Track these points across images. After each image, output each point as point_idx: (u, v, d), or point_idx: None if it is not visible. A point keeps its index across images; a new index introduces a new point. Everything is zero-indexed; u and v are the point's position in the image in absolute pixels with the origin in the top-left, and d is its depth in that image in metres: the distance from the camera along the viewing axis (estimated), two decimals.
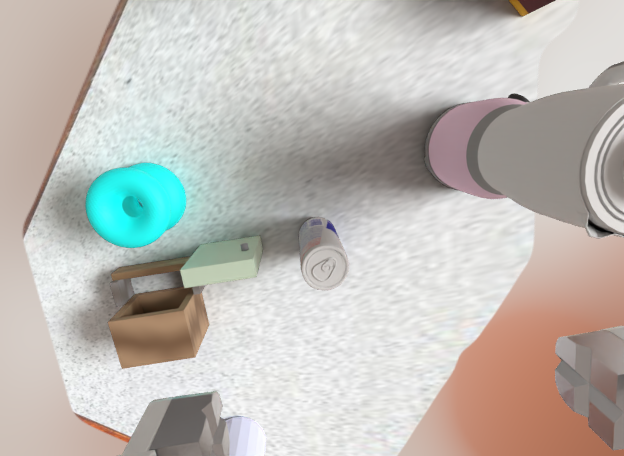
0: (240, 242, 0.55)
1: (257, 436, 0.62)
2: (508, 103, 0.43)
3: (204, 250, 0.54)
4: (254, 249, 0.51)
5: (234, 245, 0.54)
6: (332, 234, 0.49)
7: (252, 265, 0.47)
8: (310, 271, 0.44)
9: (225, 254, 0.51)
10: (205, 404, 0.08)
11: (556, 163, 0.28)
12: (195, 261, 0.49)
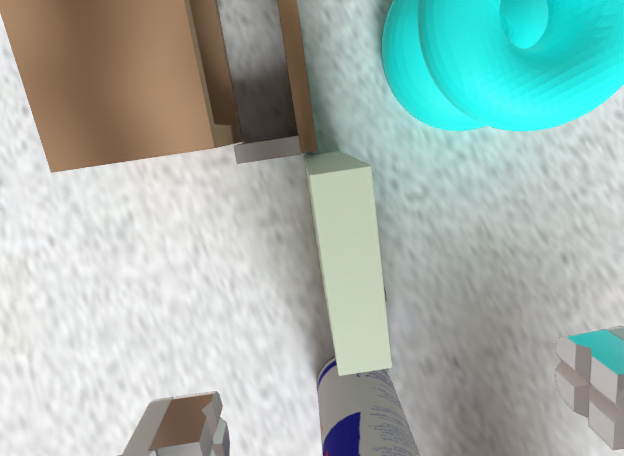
0: None
1: None
2: None
3: None
4: None
5: None
6: None
7: (373, 366, 0.17)
8: None
9: None
10: (205, 404, 0.08)
11: None
12: None
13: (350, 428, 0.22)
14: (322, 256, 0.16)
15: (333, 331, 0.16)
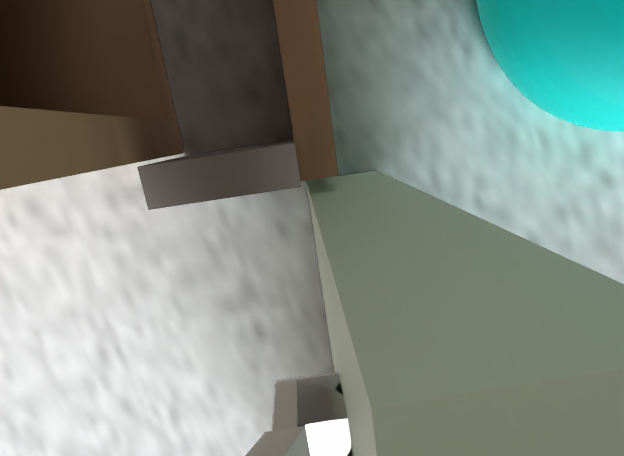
0: None
1: None
2: None
3: None
4: None
5: None
6: None
7: None
8: None
9: None
10: (335, 384, 0.08)
11: None
12: None
13: None
14: None
15: None
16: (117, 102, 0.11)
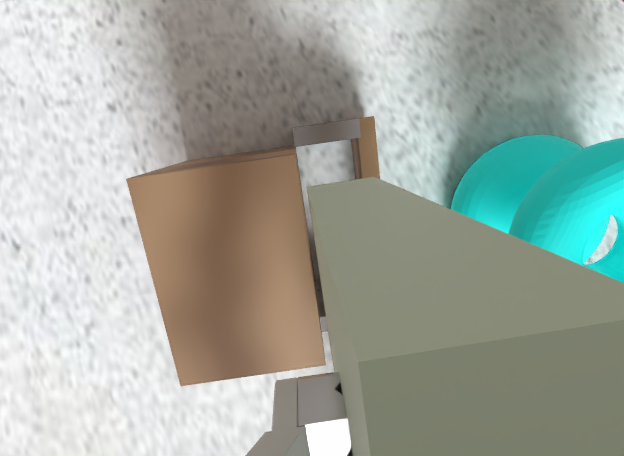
0: None
1: None
2: None
3: None
4: None
5: None
6: None
7: None
8: None
9: None
10: (335, 384, 0.08)
11: None
12: None
13: None
14: None
15: None
16: None
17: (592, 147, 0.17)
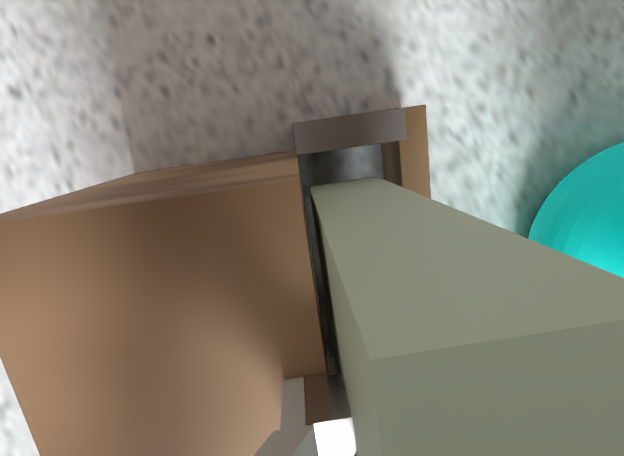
0: None
1: None
2: None
3: None
4: None
5: None
6: None
7: None
8: None
9: None
10: (343, 383, 0.08)
11: None
12: None
13: None
14: None
15: None
16: None
17: None
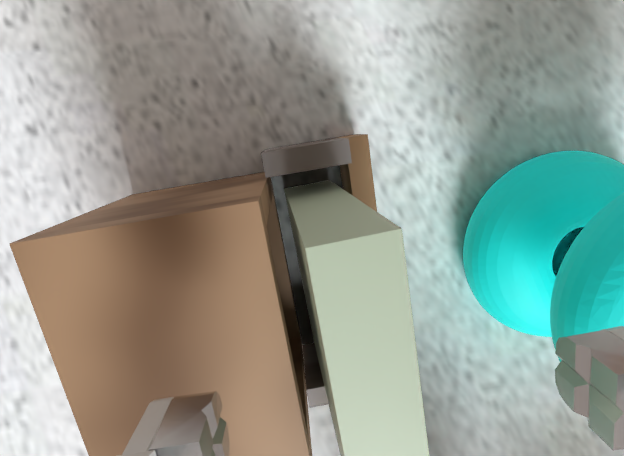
0: None
1: None
2: None
3: None
4: None
5: None
6: None
7: None
8: None
9: None
10: (205, 404, 0.08)
11: None
12: None
13: None
14: (329, 368, 0.10)
15: None
16: None
17: None
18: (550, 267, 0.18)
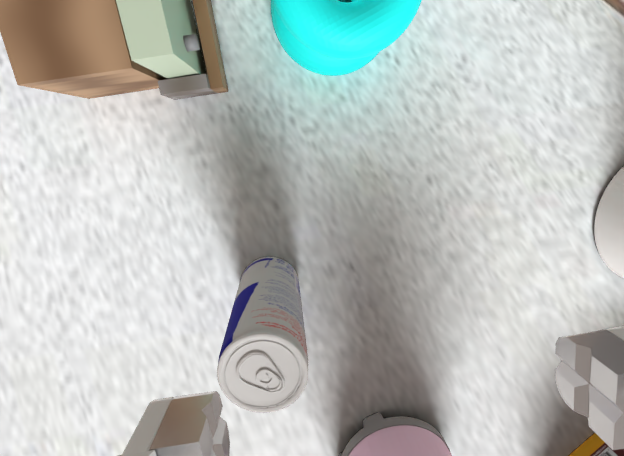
0: None
1: None
2: None
3: None
4: (188, 62, 0.26)
5: (189, 26, 0.28)
6: None
7: (158, 52, 0.22)
8: (254, 349, 0.23)
9: None
10: (205, 405, 0.08)
11: None
12: None
13: (248, 290, 0.29)
14: None
15: (121, 18, 0.21)
16: None
17: None
18: None
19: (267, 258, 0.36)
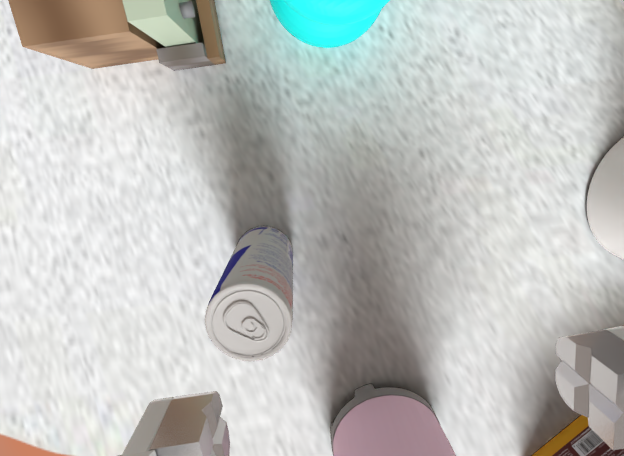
0: None
1: None
2: None
3: None
4: (184, 29, 0.27)
5: None
6: None
7: (152, 13, 0.23)
8: (240, 298, 0.24)
9: None
10: (205, 404, 0.08)
11: None
12: None
13: (240, 252, 0.30)
14: None
15: None
16: None
17: None
18: None
19: (262, 227, 0.37)
